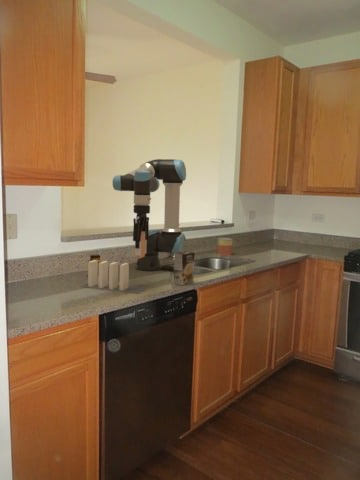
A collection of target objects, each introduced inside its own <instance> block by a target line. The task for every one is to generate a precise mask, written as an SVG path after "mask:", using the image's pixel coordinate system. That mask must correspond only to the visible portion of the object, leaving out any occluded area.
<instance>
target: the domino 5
mask: <svg viewBox="0 0 360 480" xmlns="http://www.w3.org/2000/svg"><path fill="white" fill-rule="evenodd" d="M140 241H141V256H138V255H135V256H136V259H138V258H142V257H145V231H142V233H141V240H140Z"/></svg>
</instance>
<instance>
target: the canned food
mask: <svg viewBox="0 0 360 480" xmlns="http://www.w3.org/2000/svg"><path fill="white" fill-rule="evenodd" d="M233 242H234V239H233V238H230V237H218V238H217V247H216V248H217V250H216V251H217V252H216V255H217V254H221V255H220V256H222V255H231V254H232V255H233ZM232 255H231V256H232Z"/></svg>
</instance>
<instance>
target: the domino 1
mask: <svg viewBox="0 0 360 480" xmlns="http://www.w3.org/2000/svg"><path fill="white" fill-rule="evenodd" d="M89 261H90V260H89ZM89 261H88V262H87V263H88V265H87V284H88V287H93V286H95V285H97V284H98V260H93V261H90V262H89Z"/></svg>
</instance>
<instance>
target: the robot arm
mask: <svg viewBox="0 0 360 480" xmlns="http://www.w3.org/2000/svg"><path fill="white" fill-rule="evenodd" d="M186 178H187V170H186V164H185V162H184V160H181V159H170V158H169V159H165V158H163V159H160V158H158V159H153V160H152V159H151V160H149V161H146V162H144V163H142V164H141V165H140V166H139V167H137V168H136V169H134V170H132V171H130V172H128V173H126V174H124V175H121V174H116V175H114V176H113V178H112V188H113V190H115V191H118V192H133V204H134V205H133V213H134V214H136V216H135V218H133V229H132V232H133V233H132V242H134V256H136V255H138V256H141V241H140V240H141V233H142V231H145V257H142V258H137V261H136V264H135V269H136V270H139V271H146V272H151V271H152V272H155V271H160V270H162V264H161V259H160V257H159V253H166V254H175V253H177V252H182V250H183V247H184V243H185V234H184V233H182V229H181V228H180V206H181V205H180V203H181V201H180V199H181V198H180V197H181V194H180V193H181V186H182V185H183V183H184V181H186ZM160 181H162V184H163V186H164V220H163V221H164V225H163V226H164V227H163V228H162V229H161V232H160V229H150V227H149V225H150V223H149V221H150V217H148V216H147V214H150V213H151V205H150V204H151V200H152V198H151V193H154V192H156V191H158V190H159V188H160V186H161V185H160Z"/></svg>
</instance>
